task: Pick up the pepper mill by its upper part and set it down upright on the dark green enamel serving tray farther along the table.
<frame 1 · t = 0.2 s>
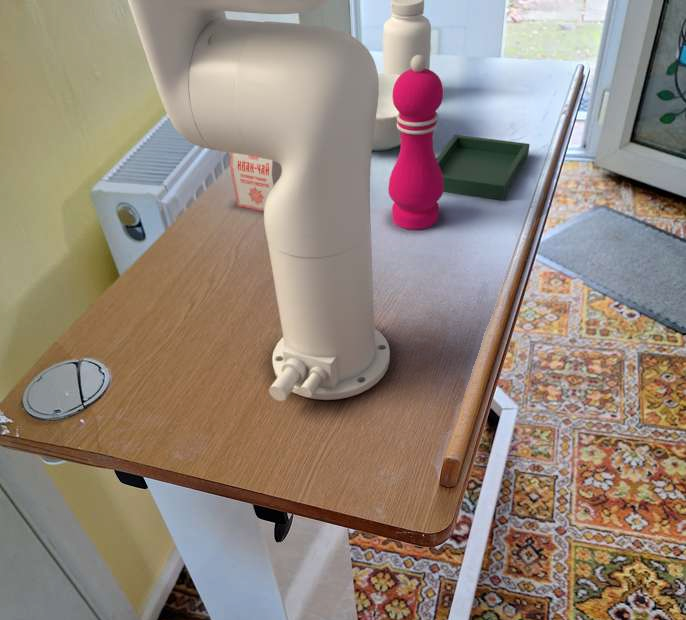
pill bottle: (406, 99, 119), on the table
printed tea carton: (264, 205, 97), on the table
cereal bowl: (379, 141, 108), on the table
tray: (476, 172, 99), on the table
pepper mill: (415, 219, 91), on the table
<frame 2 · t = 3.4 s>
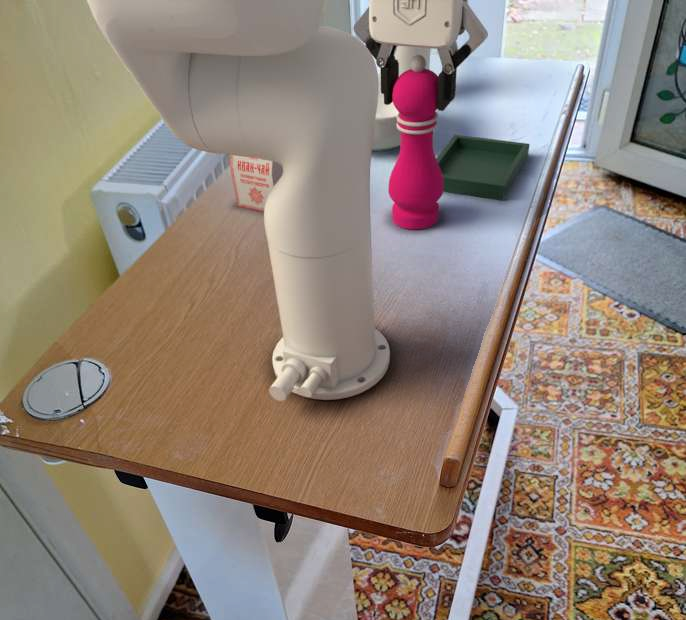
hand: (417, 101, 80), 15 cm above the table, tool pointing down, fingers closed on pepper mill, 6 cm apart
pepper mill: (415, 219, 91), on the table, touching gripper
everything else where it was.
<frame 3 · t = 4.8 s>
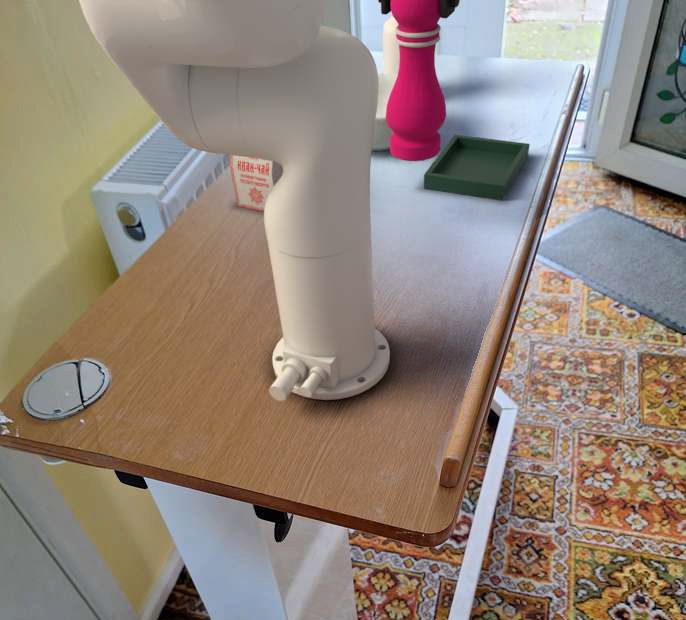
hand: (418, 10, 73), 24 cm above the table, tool pointing down, fingers closed on pepper mill, 6 cm apart
pepper mill: (415, 152, 84), point 9 cm above the table, touching gripper
everything else where it was.
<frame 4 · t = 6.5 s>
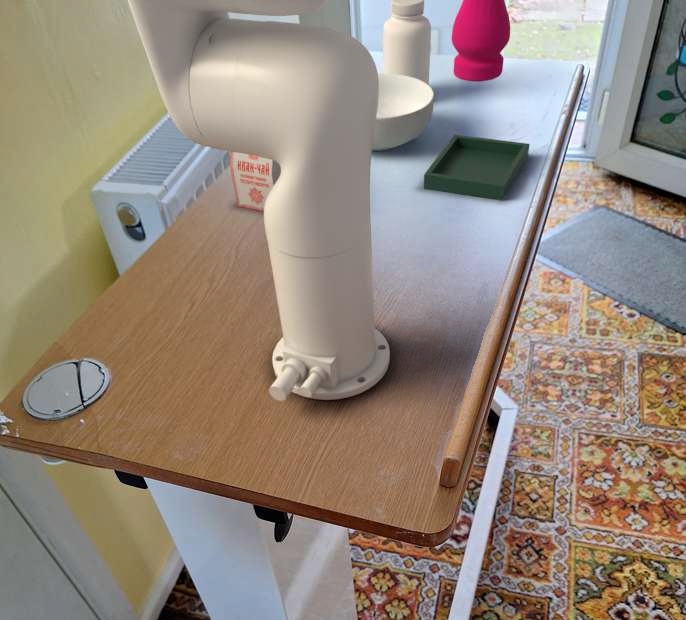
pepper mill: (477, 74, 87), point 14 cm above the table, touching gripper
everything else where it was.
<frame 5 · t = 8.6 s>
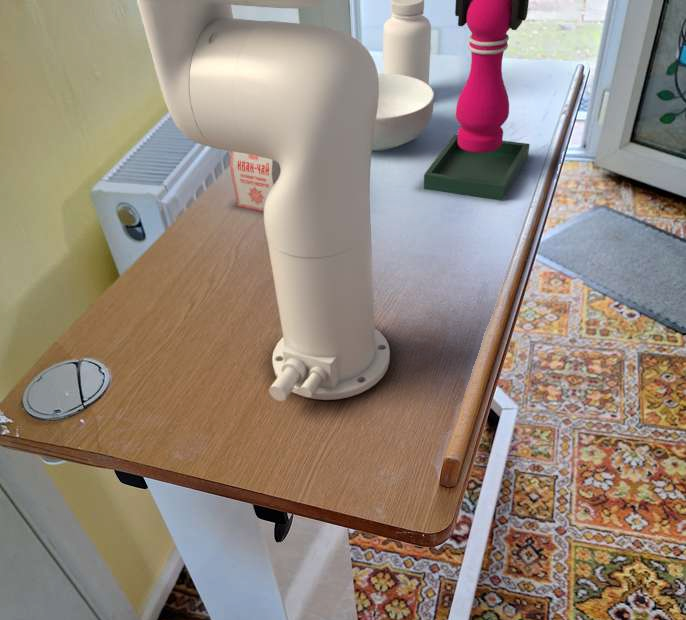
hand: (489, 23, 84), 19 cm above the table, tool pointing down, fingers closed on pepper mill, 6 cm apart
pepper mill: (479, 144, 96), point 4 cm above the table, touching gripper
everything else where it was.
when the fingers open (16 cm above the table, at t = 10.1 s): pepper mill stays where it is, resting on tray.
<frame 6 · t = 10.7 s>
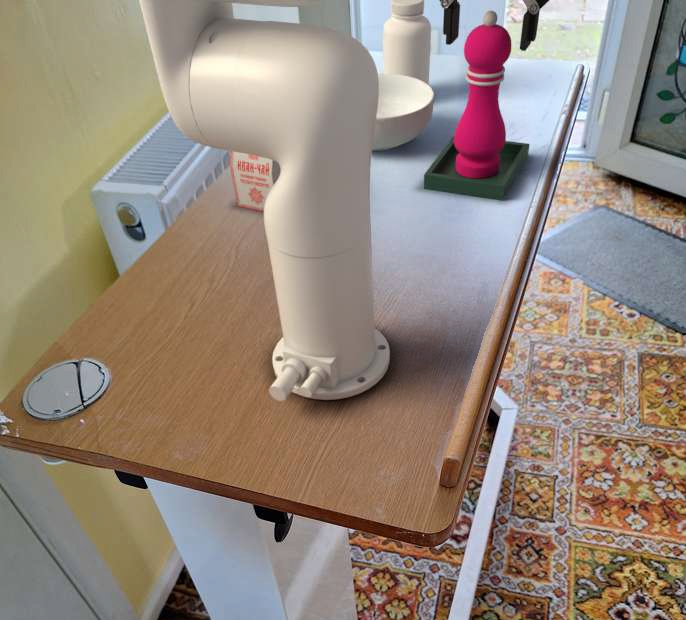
hand: (488, 44, 86), 17 cm above the table, tool pointing down, fingers open, 9 cm apart
pepper mill: (476, 170, 98), resting on tray
everything else where it was.
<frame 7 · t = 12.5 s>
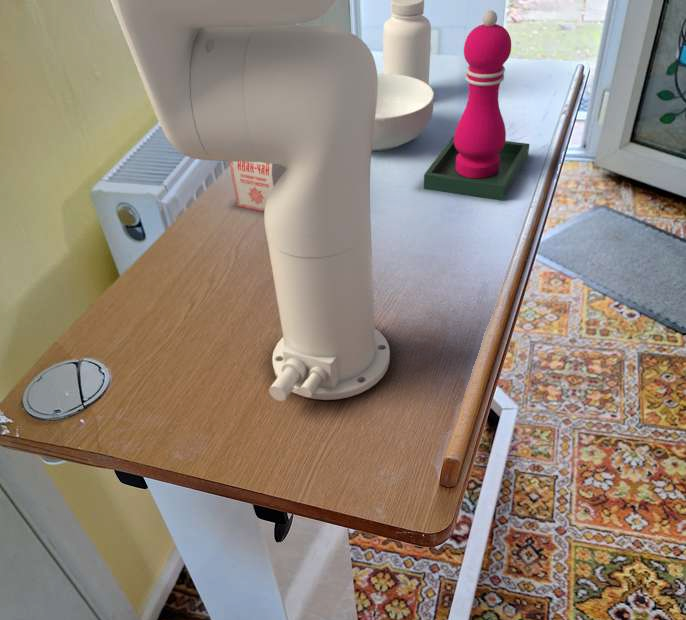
nothing on the table moved.
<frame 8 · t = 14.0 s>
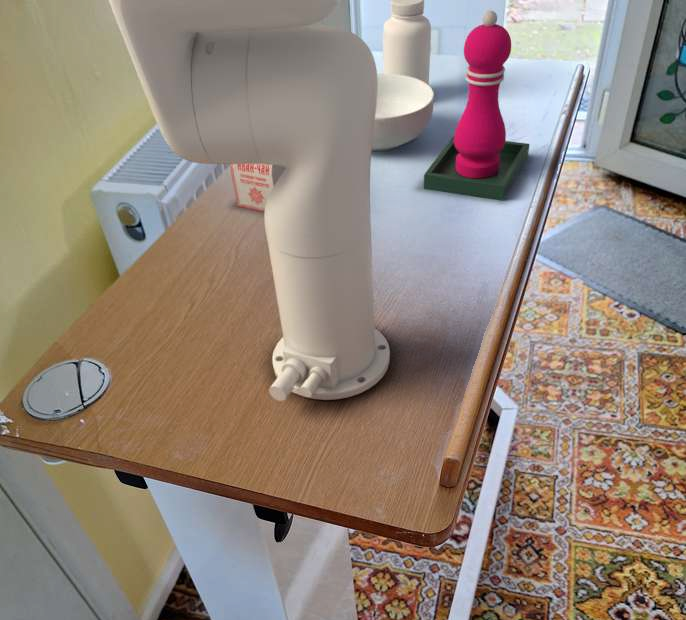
nothing on the table moved.
at the end: pepper mill 0.1 cm off-centre in the tray, point 0.4 cm above the tray's base; pepper mill tilted 0°; the gripper is holding nothing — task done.
